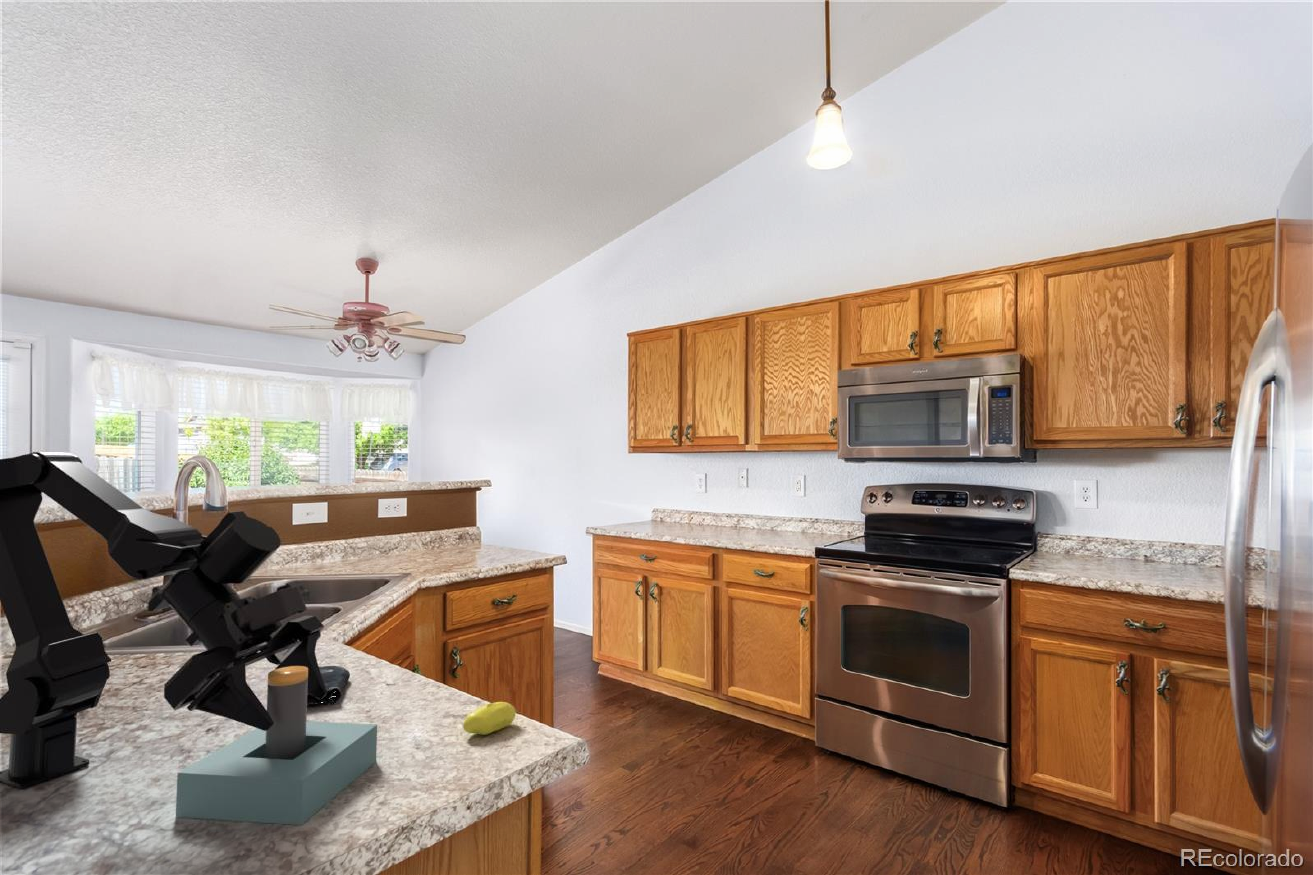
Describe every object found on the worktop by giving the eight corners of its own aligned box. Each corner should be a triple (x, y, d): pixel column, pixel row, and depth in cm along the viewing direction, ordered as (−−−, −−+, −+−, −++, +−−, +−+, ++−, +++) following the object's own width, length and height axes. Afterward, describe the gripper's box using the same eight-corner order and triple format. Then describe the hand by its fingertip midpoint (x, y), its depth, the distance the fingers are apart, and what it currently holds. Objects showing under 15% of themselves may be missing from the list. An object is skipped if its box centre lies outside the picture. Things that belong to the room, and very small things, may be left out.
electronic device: (347, 714, 97) (352, 672, 110) (343, 681, 96) (348, 642, 110) (278, 732, 93) (292, 686, 107) (273, 697, 92) (287, 656, 106)
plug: (260, 786, 71) (264, 671, 72) (299, 774, 74) (302, 663, 75) (268, 800, 68) (272, 679, 69) (308, 787, 71) (312, 671, 72)
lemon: (522, 728, 88) (522, 700, 88) (469, 745, 83) (469, 715, 83) (507, 719, 91) (508, 692, 91) (455, 735, 86) (455, 706, 86)
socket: (175, 817, 65) (177, 772, 65) (271, 755, 79) (272, 719, 79) (301, 825, 64) (302, 779, 64) (376, 761, 78) (377, 724, 78)
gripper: (194, 576, 64) (291, 691, 62) (312, 552, 82) (389, 640, 81) (120, 652, 64) (215, 768, 62) (254, 611, 83) (330, 699, 81)
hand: (298, 711), depth 72 cm, fingers open, 9 cm apart
